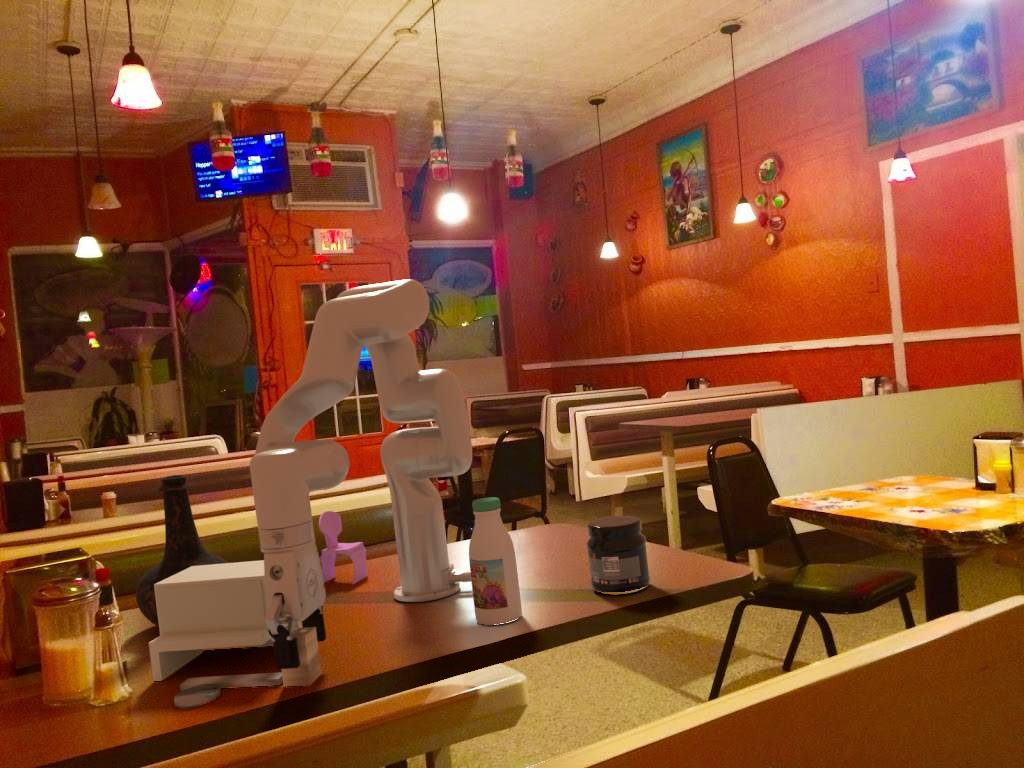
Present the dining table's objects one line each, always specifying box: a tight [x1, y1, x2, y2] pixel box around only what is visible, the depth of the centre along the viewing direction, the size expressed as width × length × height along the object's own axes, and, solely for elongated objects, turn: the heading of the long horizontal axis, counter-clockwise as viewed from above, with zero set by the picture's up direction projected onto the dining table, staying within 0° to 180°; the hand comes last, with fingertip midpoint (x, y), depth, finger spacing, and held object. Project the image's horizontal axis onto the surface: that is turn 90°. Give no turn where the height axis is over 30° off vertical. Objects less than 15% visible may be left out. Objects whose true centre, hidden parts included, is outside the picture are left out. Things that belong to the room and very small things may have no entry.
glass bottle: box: [135, 474, 230, 628], centre depth 152 cm, size 18×18×28 cm
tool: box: [179, 627, 322, 692], centre depth 115 cm, size 20×4×7 cm, turn 82°
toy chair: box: [318, 510, 369, 585], centre depth 171 cm, size 8×9×15 cm
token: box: [173, 684, 222, 709], centre depth 112 cm, size 6×6×1 cm
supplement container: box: [585, 515, 651, 592], centre depth 142 cm, size 10×10×12 cm
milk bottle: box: [468, 496, 523, 626], centre depth 132 cm, size 8×8×20 cm
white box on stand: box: [148, 559, 303, 682], centre depth 126 cm, size 18×14×14 cm
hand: (302, 653), depth 115 cm, fingers open, 9 cm apart
